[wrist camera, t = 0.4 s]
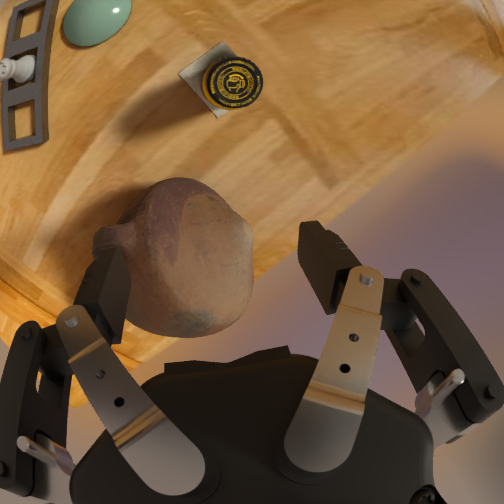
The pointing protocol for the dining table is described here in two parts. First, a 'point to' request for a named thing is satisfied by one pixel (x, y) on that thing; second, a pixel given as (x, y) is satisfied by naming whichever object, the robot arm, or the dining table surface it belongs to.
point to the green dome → (95, 20)
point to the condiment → (224, 80)
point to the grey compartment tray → (40, 86)
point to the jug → (183, 259)
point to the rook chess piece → (18, 69)
